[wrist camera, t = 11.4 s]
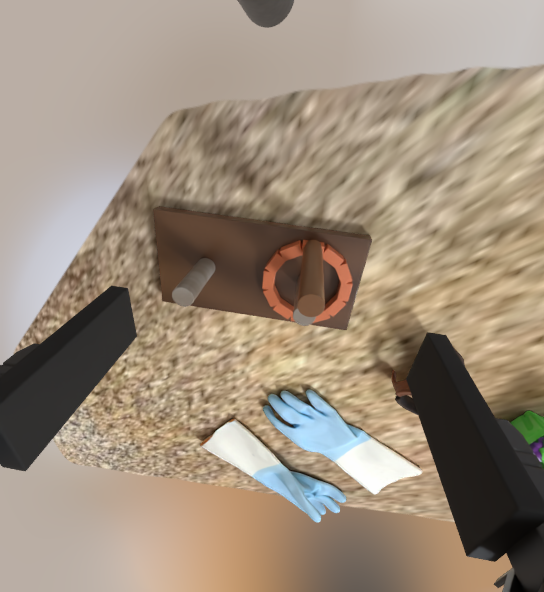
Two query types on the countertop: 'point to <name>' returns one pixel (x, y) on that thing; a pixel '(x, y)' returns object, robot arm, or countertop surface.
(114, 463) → the countertop surface
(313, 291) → the ring
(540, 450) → the fruit basket
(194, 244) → the rack
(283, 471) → the rubber gloves
